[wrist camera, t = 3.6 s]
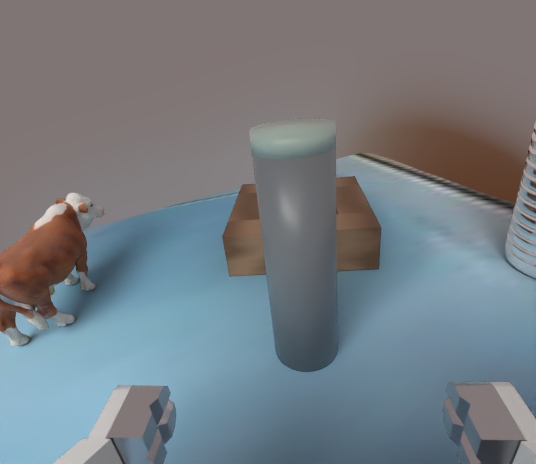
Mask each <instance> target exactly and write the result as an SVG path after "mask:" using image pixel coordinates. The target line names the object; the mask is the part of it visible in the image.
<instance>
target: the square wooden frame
mask: <svg viewBox="0 0 536 464" xmlns="http://www.w3.org/2000/svg"><path fill="white" fill-rule="evenodd" d="M222 238H223V243H224V249H225V254H226V260H227V265H228V271H229V276H242V275H264V274H266V266H265V258H264V249H263V241H262V233H261V225H260V216H259V208H258V200H257V191H256V184H245V185H242V187H241V190H240V192H239V195H238V197H237V200H236V203H235V205H234V208H233V210H232V213H231V216H230V218H229V221H228V223H227V226H226V229H225V231H224V234H223V236H222ZM380 238H381V226H380V224H379V222H378V220H377V218H376V216H375V215H374V213H373V211H372V209H371V207H370V205H369V203H368V201H367V199H366V197H365V195H364V193H363V192H362V190H361V188H360V186H359V184H358V182H357V180H356V178H355V176H353V177H339V178H336V240H337V271H348V270H369V269H379V256H380Z"/></svg>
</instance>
